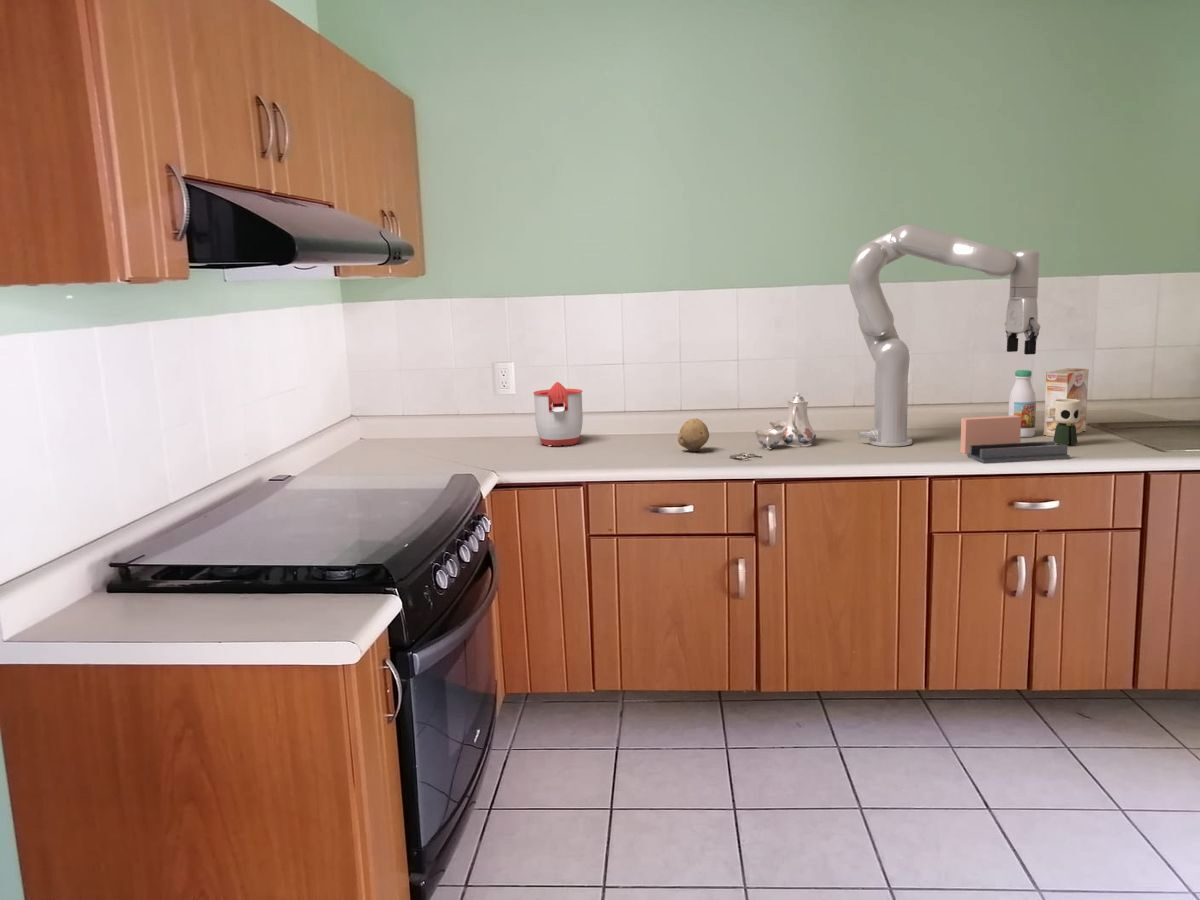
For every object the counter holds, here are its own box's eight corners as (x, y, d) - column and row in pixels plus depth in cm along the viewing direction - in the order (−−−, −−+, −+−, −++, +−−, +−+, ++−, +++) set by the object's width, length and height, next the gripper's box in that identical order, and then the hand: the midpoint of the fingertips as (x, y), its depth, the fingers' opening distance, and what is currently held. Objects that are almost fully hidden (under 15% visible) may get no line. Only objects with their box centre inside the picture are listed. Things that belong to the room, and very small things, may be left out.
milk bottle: (1003, 436, 314) (1005, 371, 311) (1013, 432, 320) (1016, 368, 316) (1028, 438, 309) (1031, 372, 306) (1038, 435, 314) (1041, 369, 311)
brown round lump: (716, 452, 305) (715, 418, 303) (691, 455, 301) (690, 422, 299) (698, 448, 313) (697, 415, 311) (674, 451, 309) (673, 418, 307)
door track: (983, 463, 275) (984, 450, 274) (967, 456, 284) (967, 444, 284) (1069, 458, 277) (1070, 446, 276) (1050, 452, 286) (1050, 440, 286)
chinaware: (770, 441, 330) (764, 390, 328) (823, 437, 324) (817, 384, 322) (754, 457, 304) (747, 401, 302) (810, 452, 298) (804, 396, 296)
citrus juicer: (534, 450, 319) (531, 386, 316) (536, 440, 336) (533, 380, 333) (585, 448, 320) (582, 384, 316) (584, 439, 337) (581, 378, 333)
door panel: (965, 454, 288) (966, 419, 286) (960, 453, 291) (961, 418, 289) (1019, 452, 289) (1021, 416, 288) (1014, 450, 292) (1015, 415, 290)
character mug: (1051, 447, 294) (1053, 402, 291) (1041, 443, 301) (1042, 399, 298) (1089, 446, 294) (1092, 401, 291) (1078, 442, 301) (1080, 398, 298)
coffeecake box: (1065, 438, 308) (1068, 373, 305) (1042, 435, 313) (1044, 372, 310) (1086, 431, 318) (1089, 368, 315) (1063, 429, 323) (1066, 367, 320)
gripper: (996, 293, 304) (993, 351, 307) (1027, 294, 287) (1024, 355, 290) (1020, 292, 305) (1017, 350, 308) (1052, 293, 288) (1049, 354, 291)
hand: (1020, 352), depth 299 cm, fingers open, 9 cm apart
